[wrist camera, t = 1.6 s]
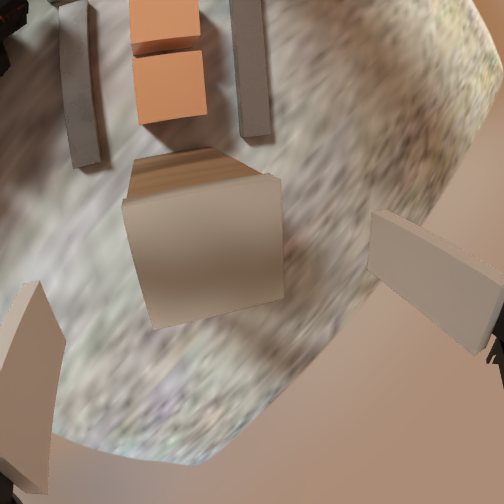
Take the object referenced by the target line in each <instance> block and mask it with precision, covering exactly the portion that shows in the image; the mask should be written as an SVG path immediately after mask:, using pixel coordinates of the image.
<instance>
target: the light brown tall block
mask: <svg viewBox="0 0 504 504" xmlns="http://www.w3.org/2000/svg"><path fill="white" fill-rule="evenodd" d="M121 210H122V215H123V219H124V224H125V228H126V232H127V236H128V241H129V245H130V249H131V253H132V257H133V261H134V264H135V268H136V272H137V276H138V279H139V283H140V286H141V290H142V293H143V297H144V300H145V303H146V307H147V310H148V313H149V316H150V320H151V323H152V326H153V329H154V330H156V329H161V328H166V327H170V326H175V325H179V324H183V323H188V322H192V321H196V320H201V319H205V318H209V317H213V316H217V315H221V314H225V313H229V312H233V311H237V310H241V309H245V308H249V307H253V306H257V305H261V304H265V303H268V302H272V301H276V300H280V299H283V298H284V260H283V229H282V202H281V180H280V179H278V178H277V177H275V176H273V175H271V174H269V173H267V174H262V173H260V172H258V171H256V170H254V169H252V168H251V167H249V166H247V165H245V164H243V163H241V162H239V161H237V160H235V159H234V158H232V157H230V156H228V155H226V154H224V153H222V152H220V151H218V150H216V149H214V148H212V147H205V148H198V149H191V150H185V151H179V152H173V153H168V154H162V155H157V156H151V157H146V158H141V159H136V160H134V164H133V168H132V173H131V178H130V183H129V188H128V194H127V198H126V199H123V202H122V207H121Z"/></svg>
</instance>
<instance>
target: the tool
mask: <svg viewBox="0 0 504 504" xmlns="http://www.w3.org/2000/svg"><path fill="white" fill-rule="evenodd" d="M28 8H29V3H28V1H27V0H0V76H3V74H4V73H5V72H6V71H7V70H8V69H9V68H10V62H9V59H8V55H7V52H6V49H5V46H4V43H3V40H4V39H5V38H7V37H8V36H10V35H11V34H13V33H14V32H15V31H17V30H18V29H20V28H21V27H22V26H24V25H25V24H27V16H26V14H28Z"/></svg>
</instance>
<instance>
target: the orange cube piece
mask: <svg viewBox="0 0 504 504" xmlns="http://www.w3.org/2000/svg"><path fill="white" fill-rule="evenodd" d="M129 5H130V31H131V45H132V51H133V55H139V54H145V53H152V52H159V51H166V50H174V49H183V48H191V47H192V46H193V44H194V43H195V42H196V40H197V39H198V38H199V37H200V20H199V5H198V0H129Z"/></svg>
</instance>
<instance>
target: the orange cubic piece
mask: <svg viewBox="0 0 504 504" xmlns="http://www.w3.org/2000/svg"><path fill="white" fill-rule="evenodd" d="M132 61H133V73H134V84H135V94H136V104H137V112H138V121H139V125H142V124H147V123H153V122H158V121H164V120H170V119H177V118H183V117H191V116H198V115H206V114H207V105H206V94H205V83H204V71H203V59H202V50H200V51H189V52H179V53H171V54H163V55H156V56H149V57H143V58H137V59H132Z"/></svg>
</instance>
